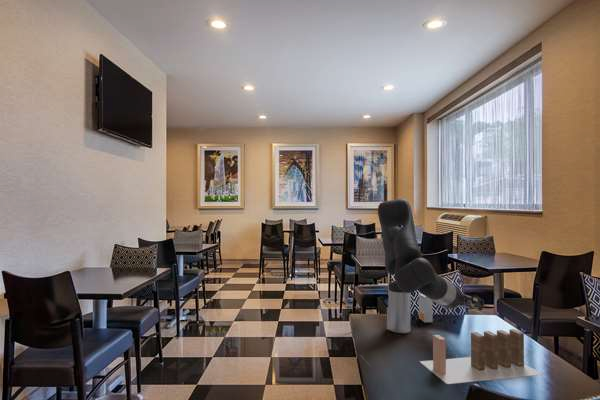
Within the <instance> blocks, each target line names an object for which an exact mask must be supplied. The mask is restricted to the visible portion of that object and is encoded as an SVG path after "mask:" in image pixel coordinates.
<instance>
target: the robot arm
mask: <svg viewBox="0 0 600 400" xmlns="http://www.w3.org/2000/svg"><path fill="white" fill-rule="evenodd" d="M377 215H378V219H379V220H378V221H379V224H380V228H381V234H382V235H381V237H382V246H383V250H384V265H385V271H386V272H387V273H388V274H389V275H394V280H392V281H391V282H389V283H388V306H387V307H386V330H388V331H391V332H393V333H397V334H407V333H410V332H411V326H412V325H411V319H412V318H411V294H412V293H414V292H416V291H418V292H419V294H423V295H425V296H426V297H428V298H430V299H431V300H432V303H435V304H437V305H439V306H442V307H443V308H445V309H455V308H457V307H463V308H467V309H470V308H474V309H476V310H477V311H483V310H484V308H485V307H484V306H485V300H484V298H481V297H480V296H478V295H476V294H471V296H470V295H467V294H464V293H463V292H462V290H461V289H460V287H459V286H458V285H456V284H455V283H453V282H451V281H450V280H449V279H447V278H445V277H442V276H440V275H439V274H437V272H436V271H435V269H434V267H433V265H432V263H430V261H429V260H428V259H426V258H424V257H423V256H422V255H423V254H422V251H421V249H420V246H419V243H418V239H417V237H416V227H415V223H414V216H413V215H414V214H413V212H412V208H411V205H410V202H409V201H408V200H407V199H406V198H397V199H391V200H385V201H382V202H380V203H379V204H378V206H377Z"/></svg>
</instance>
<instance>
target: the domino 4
mask: <svg viewBox="0 0 600 400" xmlns="http://www.w3.org/2000/svg"><path fill="white" fill-rule="evenodd" d="M509 334H511V363H513V364H515V365H517V366H518V367H522V366H524V364H525V333H524V332H522V331H520V330H518V329H509Z"/></svg>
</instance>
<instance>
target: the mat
mask: <svg viewBox="0 0 600 400" xmlns="http://www.w3.org/2000/svg"><path fill="white" fill-rule="evenodd" d="M419 363H421V364H422V365H423V366H424V367H426V368H427V369H428V370H429V371H430V372H431V373H433V374H434V375H435V376H437V377H438V378H439V379H440V380H442V382H444V383H445V384H446V385H453V384H454V385H455V384H463V383H472V382H482V381H484V382H485V381H491V380H501V379H512V378H520V377H530V376H531V377H532V376H540V375H543V373H542V372H540V371H538V370H536V369H535V368H533V367H531V366H529V365H527V364H525V363H524V366H522V367H518V366H517V365H515V364H513V363H511V368H505V367H503V366H501V365H500V364H498V369H491V368H490V367H488V366H486V365H485V370H481V371H479V370H477V369H476V368H474V367H473V366H471V356H466V357H457V358H456V357H455V358H446V374H439V373H438V372H436V371H435V370H434V369H433V359H432V360H420V361H419Z"/></svg>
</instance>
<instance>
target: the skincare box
mask: <svg viewBox="0 0 600 400" xmlns="http://www.w3.org/2000/svg"><path fill="white" fill-rule="evenodd" d="M418 307H419V308H418V319H420V320H421V321H422V322H423V323H434V322H433V321H434V320H433V301H432V300H431V299H430V298H428V297H426V296H425V295H423V294H422V293H418Z"/></svg>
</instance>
